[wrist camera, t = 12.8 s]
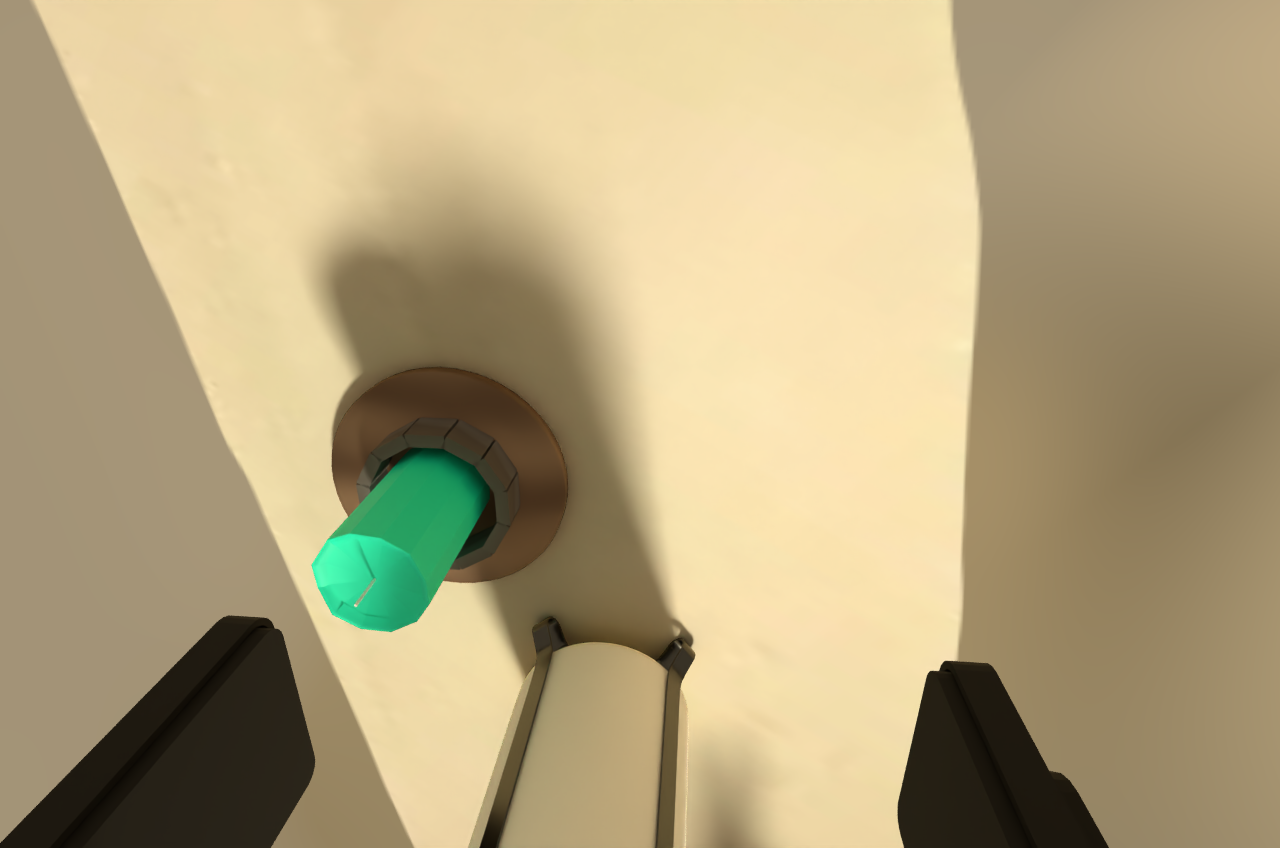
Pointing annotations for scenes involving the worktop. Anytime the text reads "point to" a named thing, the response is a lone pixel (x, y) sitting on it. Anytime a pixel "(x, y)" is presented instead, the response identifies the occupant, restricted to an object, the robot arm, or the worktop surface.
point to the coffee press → (592, 750)
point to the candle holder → (474, 431)
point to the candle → (401, 540)
